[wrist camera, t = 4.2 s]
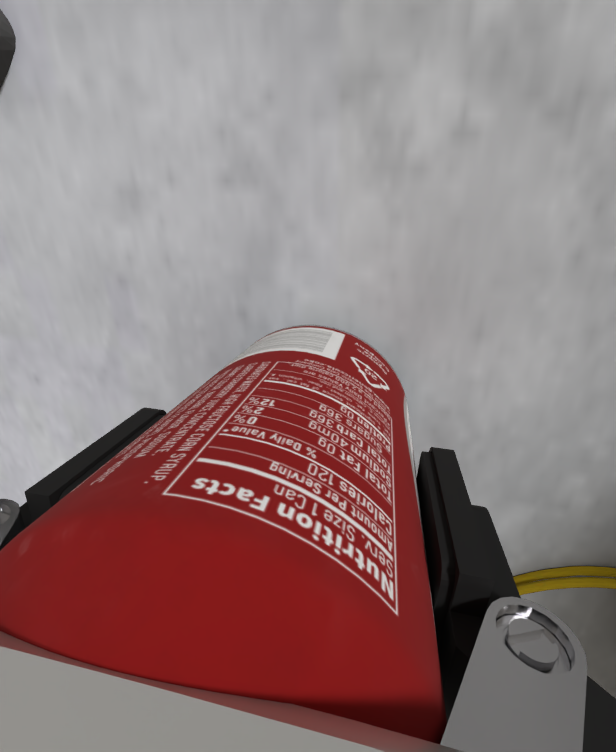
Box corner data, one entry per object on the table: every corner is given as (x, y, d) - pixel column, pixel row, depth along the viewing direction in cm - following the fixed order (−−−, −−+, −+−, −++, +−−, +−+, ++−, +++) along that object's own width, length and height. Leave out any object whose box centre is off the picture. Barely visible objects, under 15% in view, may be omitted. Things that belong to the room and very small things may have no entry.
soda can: (227, 316, 14) (-366, 614, 3) (416, 325, 13) (603, 879, 2) (237, 471, 16) (-71, 961, 5) (398, 491, 15) (431, 1176, 4)
